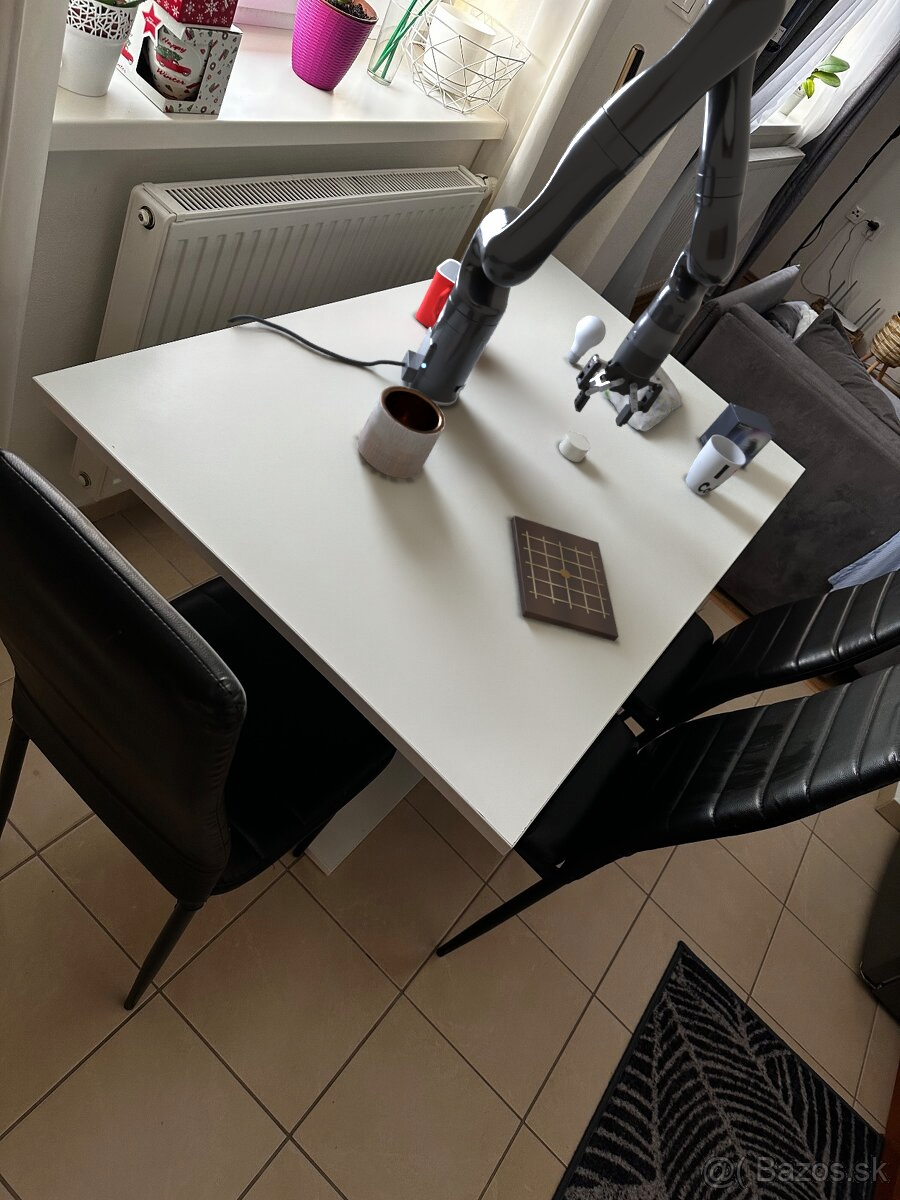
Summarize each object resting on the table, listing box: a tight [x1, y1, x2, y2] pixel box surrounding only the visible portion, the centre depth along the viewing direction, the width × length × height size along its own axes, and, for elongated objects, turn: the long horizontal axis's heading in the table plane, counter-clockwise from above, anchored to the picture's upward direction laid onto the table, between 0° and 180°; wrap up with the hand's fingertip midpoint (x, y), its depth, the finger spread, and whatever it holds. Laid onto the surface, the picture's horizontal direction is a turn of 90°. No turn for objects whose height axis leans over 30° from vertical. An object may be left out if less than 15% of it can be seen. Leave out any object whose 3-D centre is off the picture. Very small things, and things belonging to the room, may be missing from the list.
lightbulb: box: [566, 315, 607, 364], centre depth 177 cm, size 6×6×11 cm
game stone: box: [558, 430, 592, 463], centre depth 157 cm, size 5×5×3 cm
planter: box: [357, 385, 446, 479], centre depth 131 cm, size 11×11×10 cm
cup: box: [685, 435, 746, 496], centre depth 168 cm, size 8×8×10 cm
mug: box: [415, 258, 461, 329], centre depth 162 cm, size 12×8×11 cm
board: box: [510, 515, 619, 642], centre depth 133 cm, size 16×20×1 cm
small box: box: [698, 402, 777, 470], centre depth 181 cm, size 11×6×10 cm, turn 99°
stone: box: [604, 365, 683, 432], centre depth 183 cm, size 28×7×15 cm
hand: (597, 416), depth 152 cm, fingers open, 8 cm apart
